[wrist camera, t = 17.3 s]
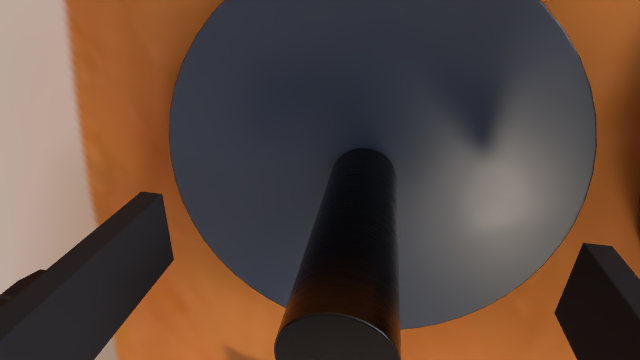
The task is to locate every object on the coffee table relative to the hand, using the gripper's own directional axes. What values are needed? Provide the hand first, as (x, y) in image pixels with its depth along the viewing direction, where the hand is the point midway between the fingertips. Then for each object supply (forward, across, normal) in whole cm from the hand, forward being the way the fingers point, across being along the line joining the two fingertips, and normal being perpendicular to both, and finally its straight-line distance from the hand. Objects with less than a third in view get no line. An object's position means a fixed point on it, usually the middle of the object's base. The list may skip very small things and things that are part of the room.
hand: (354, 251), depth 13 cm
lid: (+7, 0, 0) cm, 7 cm away
